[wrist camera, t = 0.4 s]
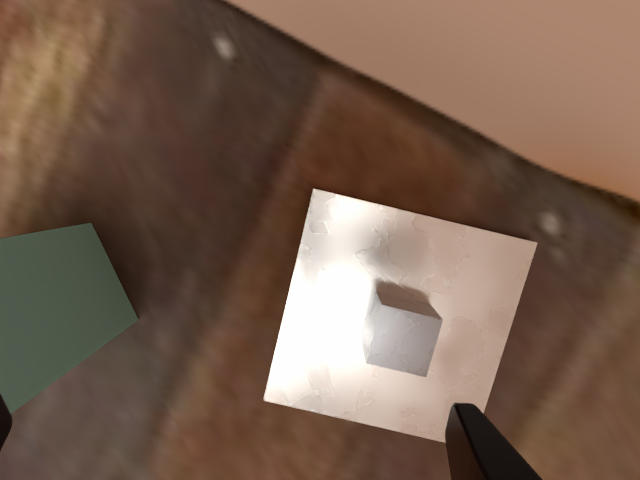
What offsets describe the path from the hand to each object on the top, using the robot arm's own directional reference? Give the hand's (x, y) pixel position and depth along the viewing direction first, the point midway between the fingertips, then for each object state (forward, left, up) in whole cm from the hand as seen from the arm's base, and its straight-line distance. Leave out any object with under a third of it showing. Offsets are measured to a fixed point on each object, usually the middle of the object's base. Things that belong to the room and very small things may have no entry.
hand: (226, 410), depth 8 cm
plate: (+2, -6, -15) cm, 16 cm away
